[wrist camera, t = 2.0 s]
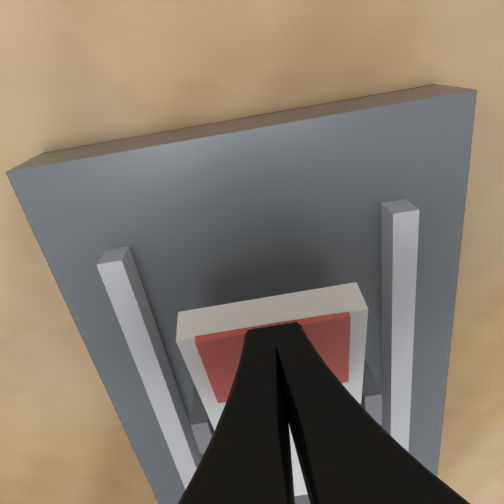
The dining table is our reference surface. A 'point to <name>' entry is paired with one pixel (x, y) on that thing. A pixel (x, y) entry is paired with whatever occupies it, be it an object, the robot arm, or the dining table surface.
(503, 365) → the dining table surface
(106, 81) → the dining table surface
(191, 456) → the switch panel
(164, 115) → the dining table surface
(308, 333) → the rocker paddle
